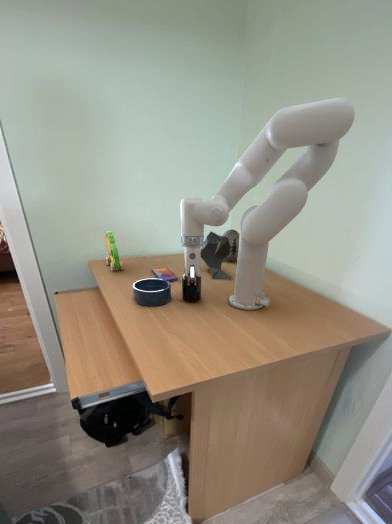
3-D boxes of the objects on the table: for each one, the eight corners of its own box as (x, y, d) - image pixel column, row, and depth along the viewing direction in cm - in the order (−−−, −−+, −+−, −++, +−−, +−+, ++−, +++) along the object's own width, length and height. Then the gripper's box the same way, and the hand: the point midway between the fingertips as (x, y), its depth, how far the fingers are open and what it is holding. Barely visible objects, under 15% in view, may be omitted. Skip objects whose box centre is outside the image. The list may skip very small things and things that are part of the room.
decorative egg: (215, 257, 153) (217, 227, 145) (237, 257, 155) (239, 227, 147) (221, 264, 144) (223, 232, 136) (243, 263, 146) (247, 232, 138)
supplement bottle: (200, 295, 111) (201, 264, 104) (201, 303, 105) (202, 270, 99) (182, 295, 110) (181, 263, 104) (182, 303, 105) (181, 270, 98)
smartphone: (160, 282, 122) (160, 280, 121) (151, 270, 133) (151, 268, 132) (177, 280, 124) (177, 278, 123) (166, 269, 135) (166, 267, 135)
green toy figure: (124, 271, 132) (120, 235, 124) (112, 272, 130) (107, 236, 122) (116, 261, 144) (112, 228, 136) (105, 262, 142) (100, 229, 134)
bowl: (178, 299, 108) (178, 284, 105) (150, 310, 99) (149, 295, 96) (154, 289, 115) (153, 275, 112) (126, 299, 107) (125, 284, 104)
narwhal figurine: (229, 268, 140) (232, 227, 130) (231, 279, 127) (235, 235, 117) (199, 267, 140) (200, 226, 130) (198, 278, 127) (200, 234, 117)
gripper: (205, 247, 89) (203, 301, 99) (202, 234, 104) (200, 283, 114) (180, 246, 89) (180, 301, 99) (180, 234, 104) (181, 282, 113)
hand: (191, 291), depth 106 cm, fingers closed on supplement bottle, 6 cm apart
